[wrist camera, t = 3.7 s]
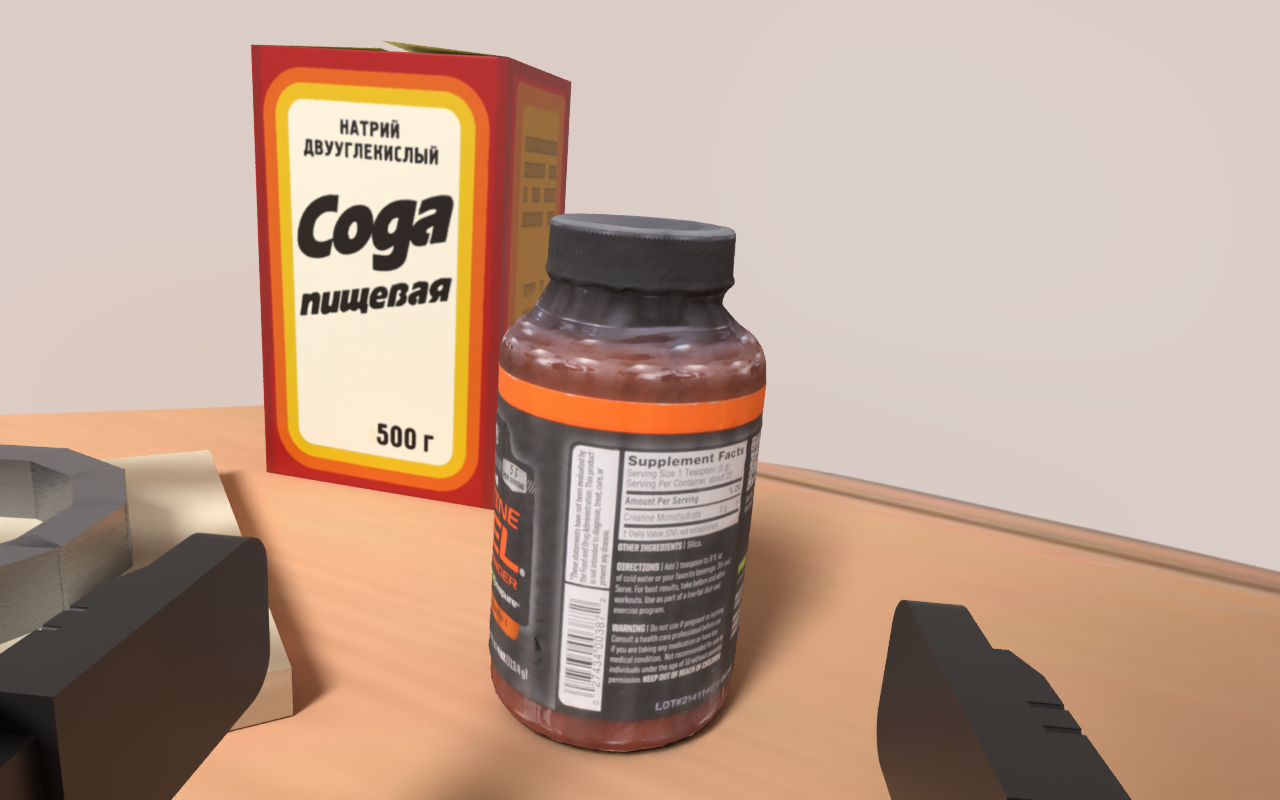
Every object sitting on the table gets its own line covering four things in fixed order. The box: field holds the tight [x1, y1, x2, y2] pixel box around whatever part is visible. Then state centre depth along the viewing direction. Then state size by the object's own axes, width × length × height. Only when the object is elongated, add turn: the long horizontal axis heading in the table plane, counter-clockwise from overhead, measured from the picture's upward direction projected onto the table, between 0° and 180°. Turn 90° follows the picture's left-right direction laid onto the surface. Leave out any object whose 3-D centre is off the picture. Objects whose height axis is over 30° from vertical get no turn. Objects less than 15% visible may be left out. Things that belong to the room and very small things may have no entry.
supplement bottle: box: [489, 214, 766, 752], centre depth 20 cm, size 6×6×11 cm
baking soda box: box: [251, 41, 571, 510], centre depth 34 cm, size 10×6×16 cm
